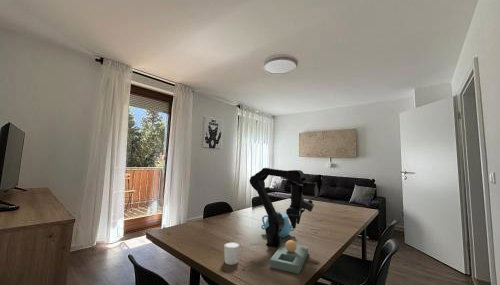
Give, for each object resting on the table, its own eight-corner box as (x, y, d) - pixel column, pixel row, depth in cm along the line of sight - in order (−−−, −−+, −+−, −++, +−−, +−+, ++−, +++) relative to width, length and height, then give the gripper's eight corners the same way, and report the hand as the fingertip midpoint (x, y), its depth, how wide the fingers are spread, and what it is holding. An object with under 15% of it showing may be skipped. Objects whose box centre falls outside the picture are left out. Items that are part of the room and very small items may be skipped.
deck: (269, 267, 88) (269, 259, 88) (283, 248, 108) (283, 242, 108) (298, 273, 83) (298, 265, 83) (307, 253, 103) (308, 246, 103)
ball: (284, 252, 96) (284, 241, 96) (286, 248, 100) (287, 237, 101) (295, 255, 93) (295, 243, 94) (297, 251, 98) (297, 239, 99)
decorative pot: (279, 229, 141) (279, 208, 143) (296, 236, 128) (296, 213, 129) (259, 233, 132) (259, 210, 134) (275, 241, 119) (275, 215, 120)
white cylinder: (239, 258, 96) (239, 242, 96) (239, 265, 89) (239, 247, 90) (224, 258, 95) (224, 241, 96) (222, 265, 89) (223, 247, 89)
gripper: (310, 198, 97) (309, 234, 95) (315, 194, 114) (315, 224, 112) (286, 196, 102) (285, 230, 100) (294, 192, 119) (294, 221, 117)
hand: (296, 226), depth 107 cm, fingers open, 9 cm apart
